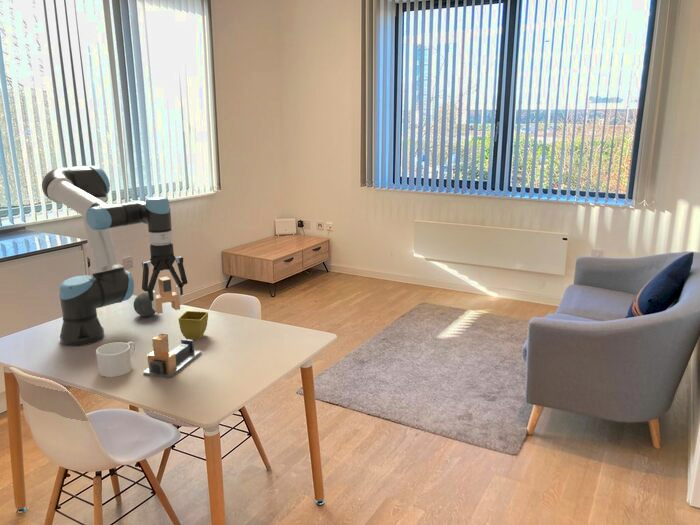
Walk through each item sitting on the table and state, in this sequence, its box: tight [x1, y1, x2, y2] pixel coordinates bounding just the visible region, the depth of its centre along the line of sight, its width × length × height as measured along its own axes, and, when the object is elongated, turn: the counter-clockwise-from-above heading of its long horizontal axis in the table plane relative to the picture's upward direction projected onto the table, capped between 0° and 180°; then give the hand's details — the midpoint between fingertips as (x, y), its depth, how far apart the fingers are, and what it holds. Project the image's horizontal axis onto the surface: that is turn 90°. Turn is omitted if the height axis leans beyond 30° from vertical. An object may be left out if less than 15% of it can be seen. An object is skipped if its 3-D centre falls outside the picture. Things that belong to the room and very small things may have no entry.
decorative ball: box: [133, 292, 156, 317], centre depth 237 cm, size 10×10×10 cm
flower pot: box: [178, 310, 209, 340], centre depth 216 cm, size 9×9×9 cm
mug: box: [95, 341, 136, 378], centre depth 189 cm, size 13×10×8 cm
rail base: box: [142, 333, 202, 379], centre depth 193 cm, size 10×20×12 cm, turn 165°
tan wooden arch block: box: [154, 276, 181, 315], centre depth 196 cm, size 8×5×12 cm, turn 127°
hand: (166, 306), depth 198 cm, fingers closed on tan wooden arch block, 8 cm apart
